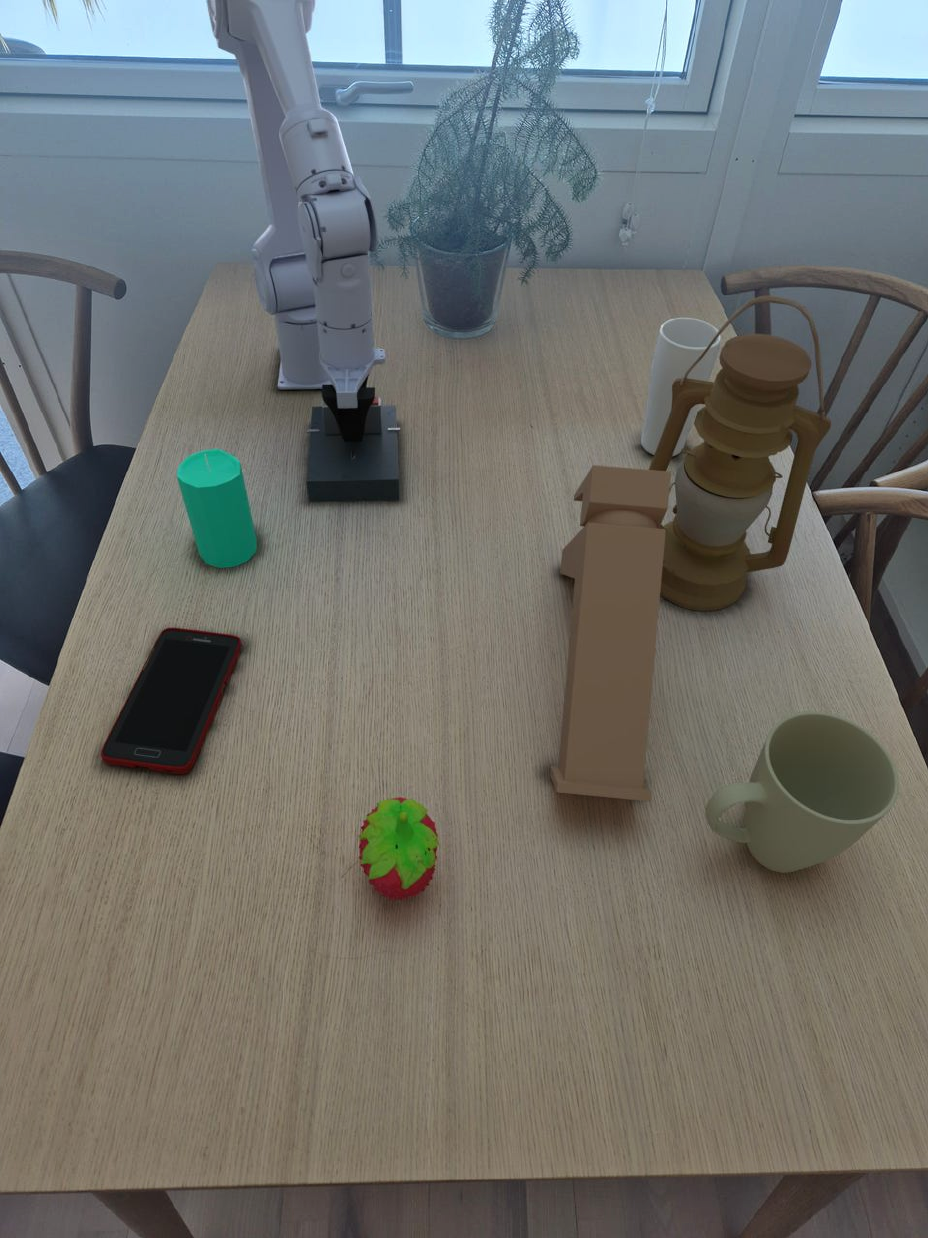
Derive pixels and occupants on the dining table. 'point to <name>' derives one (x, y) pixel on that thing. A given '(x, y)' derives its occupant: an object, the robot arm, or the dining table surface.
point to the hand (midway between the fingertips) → (353, 426)
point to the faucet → (612, 632)
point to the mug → (809, 792)
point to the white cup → (676, 374)
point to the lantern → (736, 463)
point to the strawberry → (398, 848)
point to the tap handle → (371, 424)
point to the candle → (218, 507)
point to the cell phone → (173, 701)
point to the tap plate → (353, 462)
